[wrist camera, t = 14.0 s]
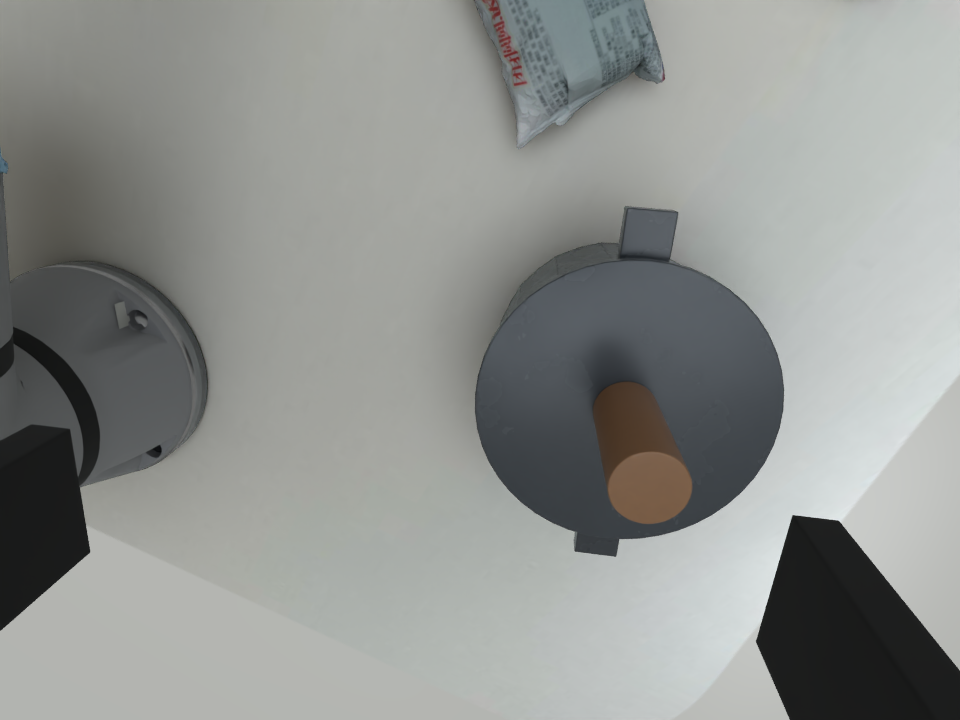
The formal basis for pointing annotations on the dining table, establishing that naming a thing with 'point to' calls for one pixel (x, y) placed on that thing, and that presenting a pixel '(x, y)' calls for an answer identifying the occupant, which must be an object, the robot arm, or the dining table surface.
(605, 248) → the pot
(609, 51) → the packaged food
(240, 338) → the dining table surface
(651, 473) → the lid
